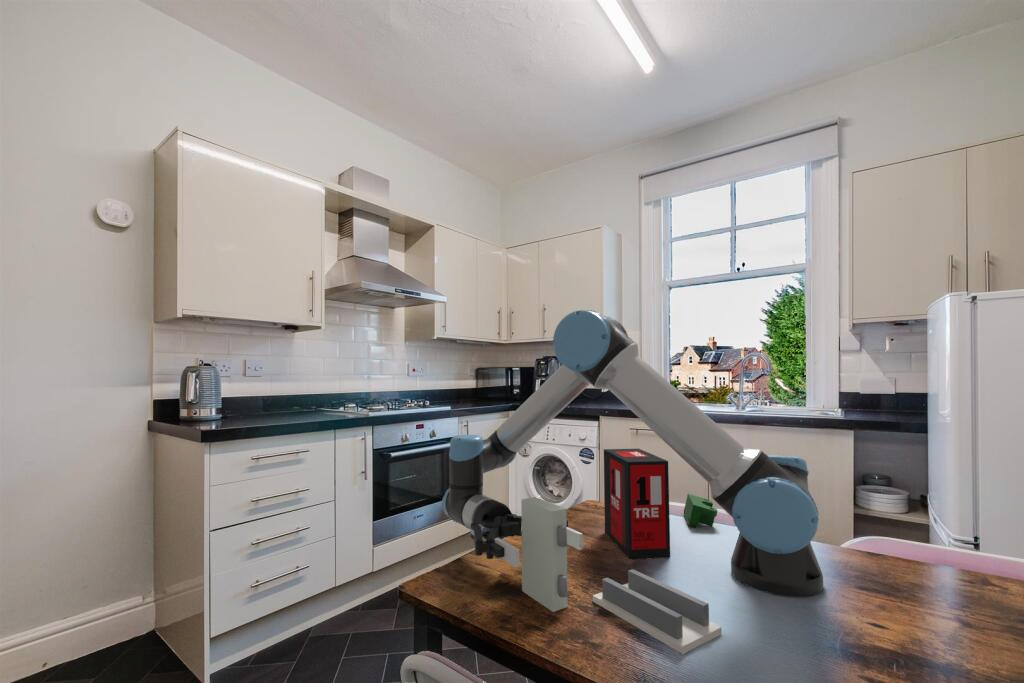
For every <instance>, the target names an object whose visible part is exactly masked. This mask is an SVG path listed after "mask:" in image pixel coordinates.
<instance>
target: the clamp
mask: <svg viewBox="0 0 1024 683" xmlns="http://www.w3.org/2000/svg"><path fill="white" fill-rule="evenodd" d="M685 500H686V501H685V504H684V508H683V516H684V519H685V522H686V524H687V525H688V526H690V527H693V528H696V527H697V528H698V526H699V524H703V525H706V526H708V527H713V526H714V521H715V518H716V517H717V516H718V513H719V512H718V509H717V508H715V507H714V506H713V505H714V503H713V501H711V500H710V499H707V498H704V497H700V496H697V495H694V494H691V493H687V495H686V499H685Z"/></svg>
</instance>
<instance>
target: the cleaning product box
mask: <svg viewBox="0 0 1024 683" xmlns="http://www.w3.org/2000/svg"><path fill="white" fill-rule="evenodd" d="M669 480H670V478H669V460H666V459H664V458H662V457H659V456H657V455H655V454H652V453H650V452H647V451H646V450H643V449H640V448H610V449H609V448H607V449H606V448H603V490H604V492H603V493H604V498H603V499H604V500H603V501H604V507H603V508H604V534H605V533H606V534H607V535H608V536H609V537H608V536H607V535H606V534H605V535H606V536H607V537H608V538H609V539H610V540H611V541H612V542H613V543H614V544H615V546H616V545H617V546H618V547H617V546H616V547H617V548H618V549H619V550H620V551H621V552H622V554H624V556H625V557H626V558H627V559H628V558H629V559H632V560H648V559H647V558H652V559H670V558H671V531H670V526H671V525H670V488H669V487H670V485H669V484H670V483H669ZM669 557H670V558H669ZM629 559H628V560H629Z"/></svg>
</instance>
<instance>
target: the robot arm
mask: <svg viewBox="0 0 1024 683" xmlns="http://www.w3.org/2000/svg"><path fill="white" fill-rule="evenodd" d="M552 343H553V344H552V348H553V352H554V354H555V356H556V359H557V361H559V362H560V363H561V366H560V367H559V368H557V370H555V371H554V372H553V373H552V375H550V376H549V377H548V378H547V379H546V380H545V381H544V382H543V383H542V384H541V385H540V386H539V387H538V388H537V389H536V390H535V391H534V392H533V393H532V394H531V395H530V396H529V397H528V398H527V399H526V400H525V401H523V403H522V404H521V405H520V406H519V407H518V408H516V410H515V411H514V412H513V413H512V414H511V415H510V416H508V417H507V419H506V420H504V422H502V424H501V425H499V426H498V427H497V429H496V430H494V431H493V433H491V434H490V435H489V436H488V437H487V438H486V439H485V438H483V437H482V435H478V434H460V435H459V434H458V435H454V436H452V438H451V439H450V442H449V453H448V457H449V459H448V460H449V462H448V463H449V464H448V465H449V486H448V489H446V491H445V493H444V495H443V497H442V501H441V508H442V511H443V512H444V513H445V515H446V516H447V517H449V518H450V520H452V521H453V522H455V523H456V524H457V523H458V524H460V525H461V526H464V527H465V528H467V529H469V530H470V538H471V539H472V540H473V542H474V552H475V555H476V556H483V553H486V559H488V560H493V559H494V556H495V557H496V558H498V559H499V558H500V559H501V560H503V561H504V562H506V563H508V564H509V565H511V566H512V567H514V568H519V567H520V549H519V548H518V547H516V546H514V545H512V544H511V543H509V542H507V541H505V540H503V539H504V538H507V537H516V536H517V537H522V515H516V513H512V511H511V509H510V508H509V507H508V505H506V504H504V503H502V502H501V501H498V500H496V499H495V498H491V497H489V496H487V495H484V494H483V493H484V474H485V473H488V472H491V471H494V470H497V469H499V468H504V467H506V466H508V465H509V464H511V463H512V462H513V461H514V460H515V458H516V455H517V453H519V451H520V450H521V449H522V448H523V447H524V446H525V445H527V443H529V442H530V440H532V439H533V438H534V437H535V436H536V435H537V434H538V433H539V432H541V431H542V429H544V428H545V427H546V426H547V425H549V423H550V422H551V421H553V420H554V419H555V418H556V416H558V415H559V414H560V413H561V412H562V411H563V410H564V409H565V408H566V407H567V406H568V405H569V404H570V403H572V401H573V400H574V399H576V398H577V397H579V395H580V394H581V393H582V392H583V391H584V390H585V389H586V388H588V387H589V386H590V385H592V387H594V388H595V389H597V390H608V391H609V392H611V393H612V394H613V395H614V396H615V397H616V398H617V399H618V400H619V401H621V402H622V403H623V405H624V406H626V407H627V408H628V409H629V410H630V411H631V412H632V413H633V414H634V415H635V416H637V418H638V419H639V420H641V421H642V423H644V424H645V425H646V426H648V428H649V429H650V430H651V431H653V433H655V434H656V435H657V436H658V437H659V438H660V439H661V441H663V442H664V443H665V444H667V445H668V447H669V448H671V449H672V450H673V451H674V452H675V453H676V454H677V455H678V456H679V457H680V458H681V459H683V460H684V462H686V463H687V464H688V465H689V466H690V467H691V468H692V469H693V470H694V471H696V473H698V474H699V476H700V477H702V478H703V479H704V480H705V481H706V482H707V483H708V485H709V489H710V497H711V499H713V501H714V502H715V503H716V504H718V505H719V506H720V507H721V508H722V509H723V510H724V511H725V513H726V514H728V515H729V516H730V517H731V518H732V519H733V520H732V521H733V522H734V525H735V526H736V528H737V530H738V532H739V533H738V537H737V540H736V543H735V547H734V549H733V552H732V554H731V557H730V558H731V559H730V560H731V561H730V570H731V572H730V573H731V574H732V576H733V578H735V579H736V580H738V581H739V582H741V583H743V584H744V585H746V586H748V587H750V588H753V589H755V590H758V591H762V592H764V593H769V594H773V595H778V596H783V597H794V598H795V597H796V598H797V597H800V598H802V597H812V596H816V595H819V594H820V593H822V592H823V590H824V574H823V572H822V569H821V566H820V564H819V562H818V559H817V556H816V553H815V551H814V549H813V545H812V541H813V539H814V538H815V535H816V533H817V530H818V524H819V511H818V510H819V509H818V506H817V505H816V502H815V500H814V498H813V497H812V494H811V492H810V491H809V482H808V481H809V480H808V476H809V470H808V465H807V461H806V460H805V459H804V458H803V457H800V456H789V455H781V454H779V455H778V454H766V453H765V452H764V451H763V450H761V448H746V447H744V446H743V445H742V444H741V443H740V442H738V441H737V440H736V439H735V438H734V437H733V436H731V435H730V434H729V433H728V432H727V431H726V430H725V429H723V428H722V427H721V426H720V424H717V422H715V421H714V420H713V419H712V418H711V417H709V416H708V415H707V414H706V413H705V412H704V411H703V410H701V408H699V407H698V406H697V405H696V404H695V403H693V402H692V401H691V400H690V399H689V398H688V397H686V396H685V395H684V394H683V393H682V392H681V391H680V390H679V389H677V388H676V387H675V386H674V385H672V384H671V383H670V382H669V381H668V380H667V379H666V378H665V377H664V376H662V374H660V373H659V372H658V371H657V370H655V369H654V368H653V367H652V366H650V365H649V363H647V362H646V360H644V359H643V358H642V357H641V356H640V355H639V344H637V343H636V342H635V341H634V340H633V339H632V338H631V337H629V335H628V332H627V330H626V329H625V327H624V326H623V324H621V323H620V322H619V321H618V320H616V319H615V318H612V317H610V316H606V315H602V314H601V313H599V312H597V311H595V310H590V309H584V310H583V309H581V310H576V311H575V310H574V311H573V312H570V313H567V315H565V316H564V317H563V318H562V319H561V320H560V321H559V322H558V324H557V326H556V327H555V329H554V333H553V339H552ZM483 539H485V540H483ZM568 545H569V546H570V547H572V548H573V549H574V548H575V549H576V550H578V551H581V550H584V534H583V533H582V532H579V531H577V530H576V529H573V528H571V527H569V520H567V546H568Z"/></svg>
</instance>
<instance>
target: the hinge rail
mask: <svg viewBox="0 0 1024 683" xmlns="http://www.w3.org/2000/svg"><path fill="white" fill-rule="evenodd" d="M627 575H628V576H627V578H628V579H627V583H624V584H621V583H619V582H617V581H615V580H613V579H611V578H610V577H605V578H602V579H601V581H602V582H601V584H602V585H601V589H602V592H601V591H600V592H597V593H596V594H593V595H592V602H593V603H595V604H597V605H598V606H600V607H602V608H604V609H605V610H607V611H609V612H610V613H612V614H613V615H615V616H617V617H618V618H620V619H622V620H623V621H626V622H627V623H629V624H630V625H632V626H634V627H636V628H638V629H639V630H641V631H643V632H644V633H646V634H647V635H650V636H651V637H653V638H655V639H656V640H658V641H660V643H661V642H662V643H663V644H665V645H667V646H668V647H670V648H672V649H674V651H677V652H678V653H680V654H681V655H684V654H686V653H688V652H690V651H692V650H694V649H695V648H698V647H699V646H701V645H703V644H705V643H707V642H709V641H711V640H713V639H715V638H717V637H719V636H721V635H723V634H722V626H719V625H717V624H716V623H714V622H711V621H710V616H709V615H710V609H709V607H710V606H709V603H708V602H705V601H704V600H701V599H700V598H697V597H694V596H692V595H690V594H688V593H686V592H684V591H681V590H680V589H678V588H675V587H673V586H671V585H668V584H666V583H664V582H662V581H659V580H657V579H655V578H653V577H651V576H649V575H647V574H644V573H642V572H639V571H638V570H635V568H633V569H630V570H627Z"/></svg>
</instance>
